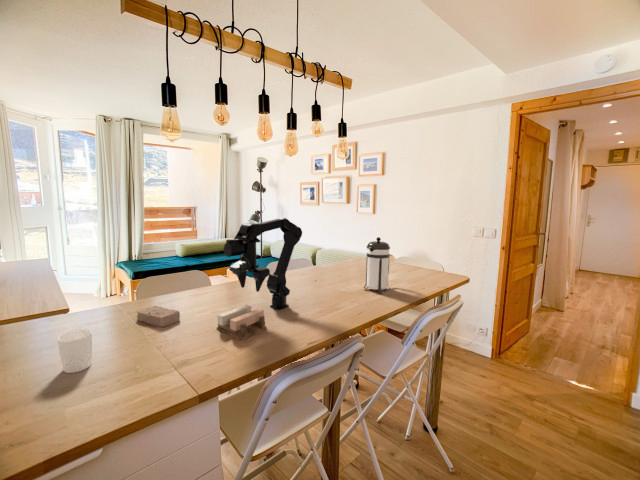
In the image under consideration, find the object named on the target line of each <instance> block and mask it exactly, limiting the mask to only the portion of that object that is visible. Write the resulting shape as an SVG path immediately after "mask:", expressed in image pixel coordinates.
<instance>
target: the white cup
mask: <svg viewBox="0 0 640 480" xmlns="http://www.w3.org/2000/svg"><path fill="white" fill-rule="evenodd" d="M92 338H93V333H92V331H91V330H90V329H78V330H77V329H76V330H73V331H68V332H66V333H63V334H61V335H59V336H58V337H57V339H56V340H57V345H58V347H57V348H58V350H59V351H58V352H59V353H58V354H59V357H60V361H61V366H62V370H63V372H64V373H67V374H71V373H72V374H74V373H78V372H82V371H84V370H86V369H88V368H89V367H91V366H92V364H93V339H92Z"/></svg>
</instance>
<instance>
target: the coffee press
mask: <svg viewBox="0 0 640 480" xmlns="http://www.w3.org/2000/svg"><path fill="white" fill-rule="evenodd" d="M390 250H391V246H390V244H389V243H388V242H385V241H381V237H376V241H370V242H368V244H367V245H366V259H365V260H366V263H365V264H366V265H365V284H364V287H363V288H364V289H366V290H367V289H371V290H377V292H379V293H378V294H382V291H383V290H387V289H389V290H390V289H391V288H390V287H389V272H390Z"/></svg>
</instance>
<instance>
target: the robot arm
mask: <svg viewBox="0 0 640 480" xmlns="http://www.w3.org/2000/svg"><path fill="white" fill-rule="evenodd" d="M276 229H280V231H281V232H282V233H283V237H282V238H283V242H284V243H283V246H282V249H281V252H280V255H279V258H278V261H277V264H276V268H275V270H274V272H273V273H272V274H271V269H269V268H268V267H260V265H259V264H257V259H258V258H259V255H257V243H261V240H260V239H259V238H258V237H259V236H261V234H263V233H266V232H269V231H273V230H276ZM302 235H303V230H302V228H301V227H299V226H297V225H296V224H295V223H293V222H291V221H290V220H289V219H288V218H286V217H285V218H284V217H277V218H274V219H272V220H267V221H262V222H258V223H255V222H253V223H252V222H251V223H250V222H249V223H242V224H241V225H240V227H239V230H238V231H237V233H236V235H235V237H234V239H225V244H224V246H223V253H224V255H225V256H226V257H227V258H229V257H230V258H231V257H237V256H240V257H239V260H238V261H236V262H235V263H232V264H231V265H230V267H229V270H230V272H232V274H234V275H235V276H236V277H237V278H238V279H237V280H238V281H239V284H240V286H241V288H242V289H243V288H245V286H246V280H247V275H248V274H247V273H252V275H253V277H252V278H253V280H254V281H255V282H254V283H255V291H256V293H257V292H259V291H260V289H261V288H262V285H263V283H264V281H265V279H266V278H267V277H268V278H267V280H266V287H267V290H268V291H269V294H272V296H271V297H272V298H271V305H269V308H272V309H276V310H280V311H281V310H283V309H285V308H288V307H289V306H290V305H289V304H288V303H287V296H289V295H290V291H291V290H290V289H289V288H288V287H287V285H286V284H287V277H286V274H287V270H288V267H289V264H290V261H291V259H292V254H293V251H294V249H295V246H296V245H297V244H298V243H299V241H300V240H301V238H302Z"/></svg>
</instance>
